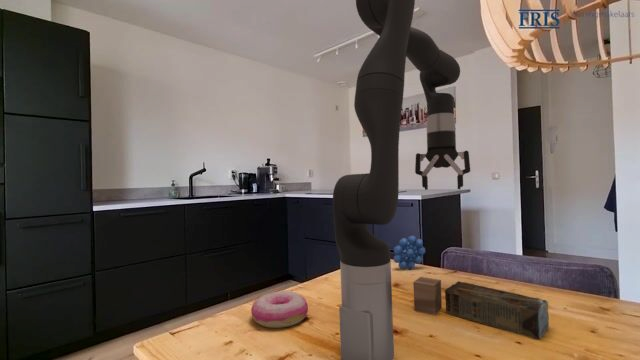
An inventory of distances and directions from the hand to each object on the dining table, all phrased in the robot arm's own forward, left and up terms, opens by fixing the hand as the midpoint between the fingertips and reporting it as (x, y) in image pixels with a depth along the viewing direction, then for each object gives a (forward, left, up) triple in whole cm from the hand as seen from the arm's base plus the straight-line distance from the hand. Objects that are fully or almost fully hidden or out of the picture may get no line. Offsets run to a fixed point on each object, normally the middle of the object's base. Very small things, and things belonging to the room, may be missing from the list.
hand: (442, 189), depth 88 cm
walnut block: (-14, 0, -29) cm, 32 cm away
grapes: (+18, +18, -29) cm, 39 cm away
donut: (-38, +27, -29) cm, 55 cm away
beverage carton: (-11, -14, -29) cm, 34 cm away
